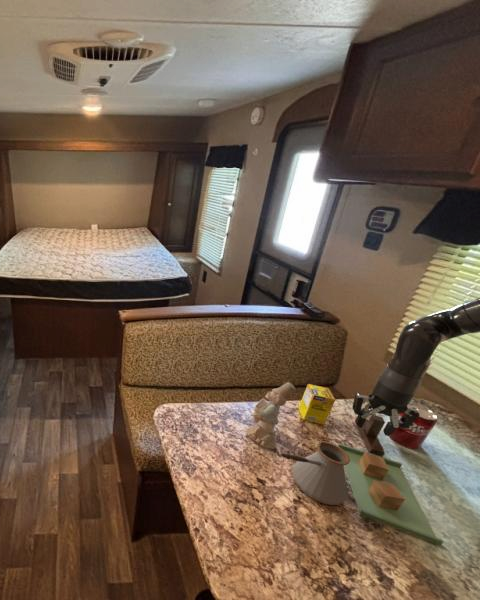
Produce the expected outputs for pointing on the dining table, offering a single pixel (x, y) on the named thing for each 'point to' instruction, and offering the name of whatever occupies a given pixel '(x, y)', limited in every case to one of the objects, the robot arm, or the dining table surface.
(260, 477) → the dining table surface
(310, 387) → the supplement box
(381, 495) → the cork cube
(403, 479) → the tray
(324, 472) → the coffee pot
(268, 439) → the figurine
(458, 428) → the dining table surface
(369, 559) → the dining table surface
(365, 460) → the cork cube
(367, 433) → the brown wooden t-shape
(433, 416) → the soda can
